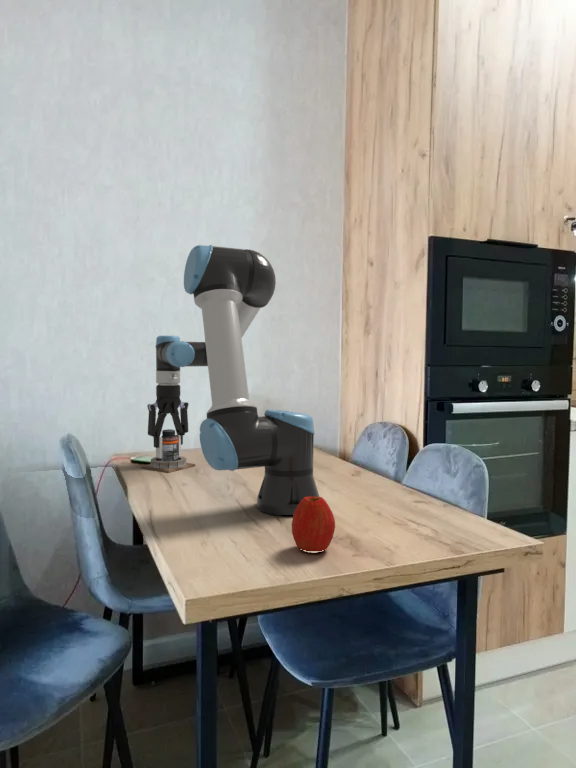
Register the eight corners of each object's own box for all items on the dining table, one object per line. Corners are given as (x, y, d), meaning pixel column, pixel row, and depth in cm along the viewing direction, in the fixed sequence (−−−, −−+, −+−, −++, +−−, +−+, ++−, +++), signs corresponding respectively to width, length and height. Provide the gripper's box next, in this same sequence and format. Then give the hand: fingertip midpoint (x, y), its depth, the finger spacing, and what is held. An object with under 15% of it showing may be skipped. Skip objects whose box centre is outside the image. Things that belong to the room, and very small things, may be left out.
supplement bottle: (163, 463, 177) (163, 428, 176) (180, 463, 176) (180, 429, 176) (156, 466, 171) (156, 431, 170) (175, 467, 170) (174, 431, 170)
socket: (168, 472, 166) (168, 464, 166) (141, 467, 172) (141, 459, 172) (195, 466, 176) (195, 458, 176) (168, 461, 182) (168, 454, 182)
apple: (332, 542, 107) (333, 488, 106) (337, 558, 98) (338, 499, 98) (290, 542, 106) (291, 488, 106) (292, 558, 98) (292, 499, 98)
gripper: (146, 385, 163) (147, 462, 165) (200, 383, 176) (200, 454, 177) (135, 384, 169) (135, 458, 170) (187, 382, 182) (187, 451, 183)
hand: (168, 456), depth 174 cm, fingers closed on supplement bottle, 6 cm apart
